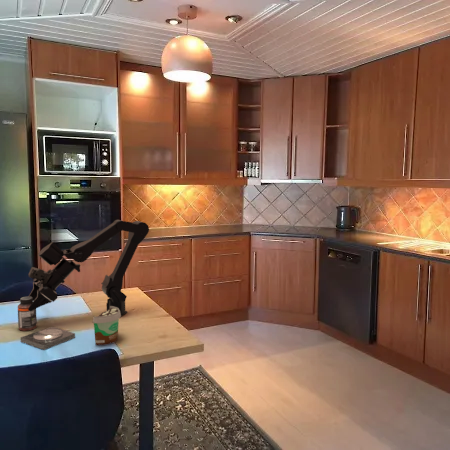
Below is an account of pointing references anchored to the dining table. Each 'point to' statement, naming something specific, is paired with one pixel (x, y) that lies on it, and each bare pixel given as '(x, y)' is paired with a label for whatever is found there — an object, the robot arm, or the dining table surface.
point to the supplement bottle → (26, 315)
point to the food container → (106, 326)
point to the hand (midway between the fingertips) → (27, 306)
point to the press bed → (47, 338)
